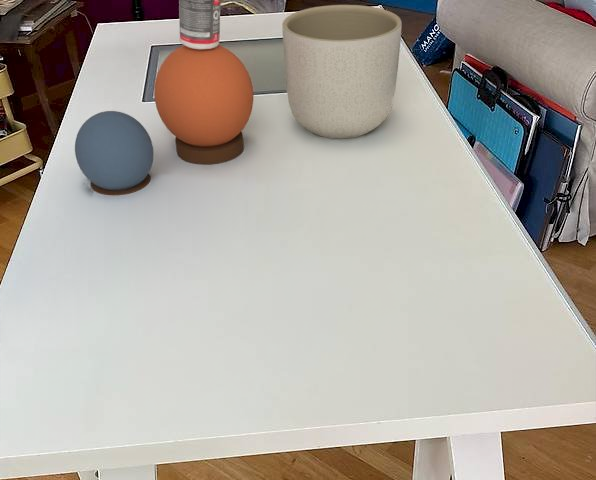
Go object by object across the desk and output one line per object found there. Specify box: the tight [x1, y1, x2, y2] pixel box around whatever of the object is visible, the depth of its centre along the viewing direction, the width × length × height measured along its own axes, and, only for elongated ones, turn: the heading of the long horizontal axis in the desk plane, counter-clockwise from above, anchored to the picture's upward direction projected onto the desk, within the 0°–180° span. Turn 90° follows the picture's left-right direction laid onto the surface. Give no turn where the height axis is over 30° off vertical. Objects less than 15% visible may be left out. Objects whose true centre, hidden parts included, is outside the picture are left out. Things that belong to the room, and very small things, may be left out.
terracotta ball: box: [153, 44, 254, 165], centre depth 103 cm, size 14×14×15 cm
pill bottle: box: [178, 0, 221, 49], centre depth 95 cm, size 5×5×10 cm
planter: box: [281, 4, 403, 139], centre depth 108 cm, size 17×17×15 cm
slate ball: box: [74, 110, 154, 197], centre depth 95 cm, size 10×10×11 cm
